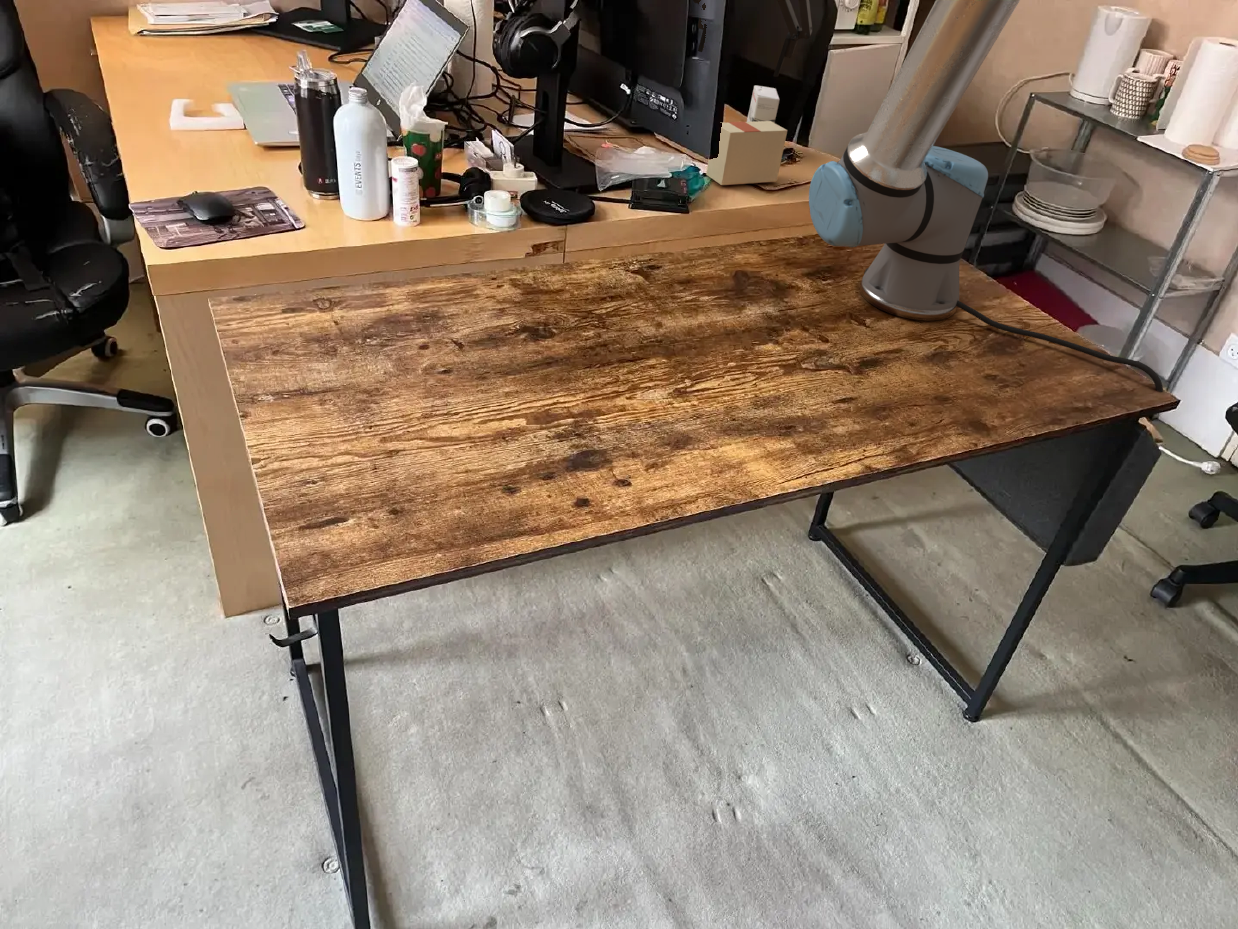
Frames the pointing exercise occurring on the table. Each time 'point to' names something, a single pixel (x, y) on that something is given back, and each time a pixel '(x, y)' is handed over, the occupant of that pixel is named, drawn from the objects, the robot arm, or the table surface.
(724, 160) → the carton
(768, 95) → the ink box
